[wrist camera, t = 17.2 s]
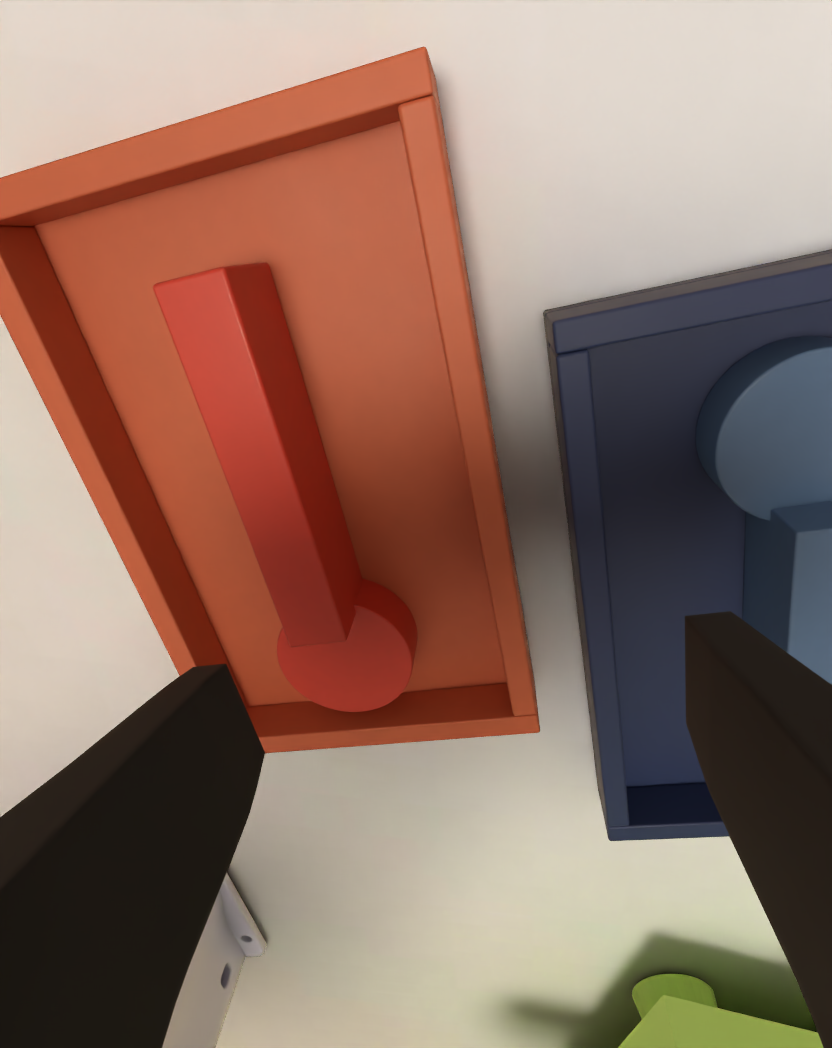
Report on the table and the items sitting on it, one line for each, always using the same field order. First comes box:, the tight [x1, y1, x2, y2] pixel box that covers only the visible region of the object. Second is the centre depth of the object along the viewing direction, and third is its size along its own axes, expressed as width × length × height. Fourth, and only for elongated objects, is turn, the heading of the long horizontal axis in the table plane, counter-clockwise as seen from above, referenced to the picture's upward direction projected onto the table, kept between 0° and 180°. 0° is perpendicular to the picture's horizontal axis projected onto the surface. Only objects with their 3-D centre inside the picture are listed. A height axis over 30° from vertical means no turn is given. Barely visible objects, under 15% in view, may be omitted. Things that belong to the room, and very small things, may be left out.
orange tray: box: [0, 47, 540, 753], centre depth 15 cm, size 16×10×2 cm, turn 12°
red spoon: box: [153, 262, 417, 712], centre depth 15 cm, size 12×4×3 cm, turn 12°
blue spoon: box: [696, 336, 832, 685], centre depth 14 cm, size 12×4×3 cm, turn 12°
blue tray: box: [543, 250, 832, 841], centre depth 15 cm, size 16×10×2 cm, turn 12°
